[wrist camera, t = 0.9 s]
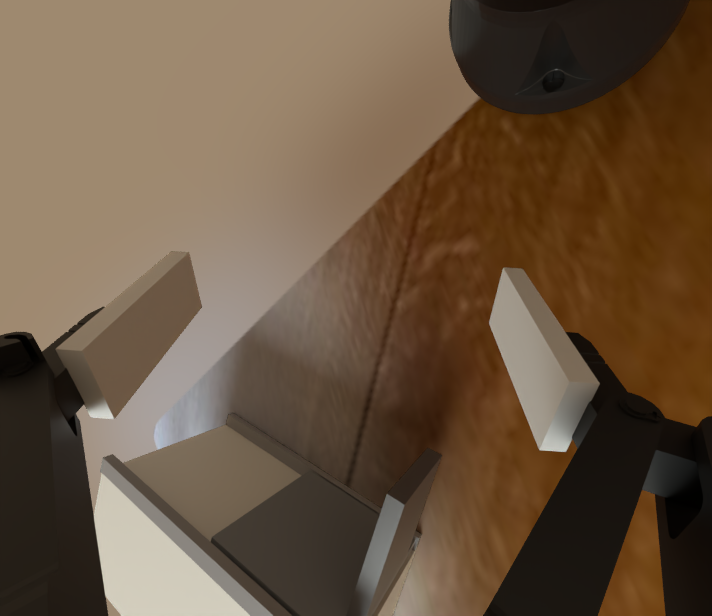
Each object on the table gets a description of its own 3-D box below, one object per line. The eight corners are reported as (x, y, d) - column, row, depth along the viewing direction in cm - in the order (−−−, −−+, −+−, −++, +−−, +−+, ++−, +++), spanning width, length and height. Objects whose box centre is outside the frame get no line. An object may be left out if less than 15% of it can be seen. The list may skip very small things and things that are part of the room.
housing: (232, 412, 44) (102, 457, 31) (421, 534, 33) (338, 676, 21) (212, 496, 46) (82, 570, 33) (384, 637, 35) (288, 824, 22)
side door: (333, 387, 36) (239, 423, 25) (448, 446, 31) (391, 522, 20) (307, 477, 38) (209, 546, 27) (413, 547, 32) (342, 666, 22)
